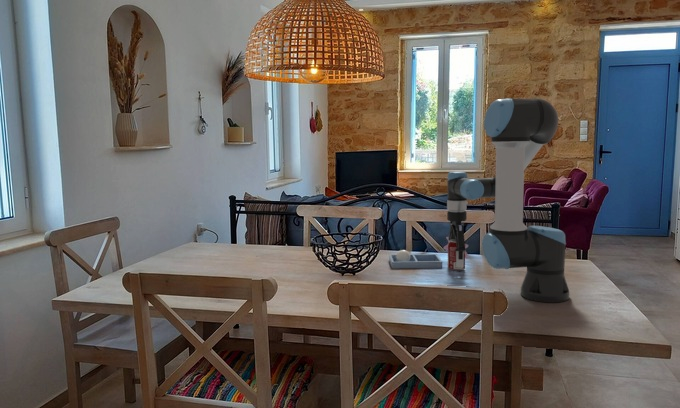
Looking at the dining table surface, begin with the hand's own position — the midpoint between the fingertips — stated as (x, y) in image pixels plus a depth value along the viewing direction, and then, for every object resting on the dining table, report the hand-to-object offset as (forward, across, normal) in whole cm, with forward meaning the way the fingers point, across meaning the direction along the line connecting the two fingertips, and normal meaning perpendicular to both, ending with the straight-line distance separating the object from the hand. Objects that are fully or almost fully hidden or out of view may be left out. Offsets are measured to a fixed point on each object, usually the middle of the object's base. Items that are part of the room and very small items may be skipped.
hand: (456, 263), depth 211 cm
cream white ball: (+2, +8, +20) cm, 22 cm away
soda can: (+3, 0, 0) cm, 3 cm away
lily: (+3, +22, -4) cm, 22 cm away
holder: (+3, +8, +16) cm, 18 cm away
